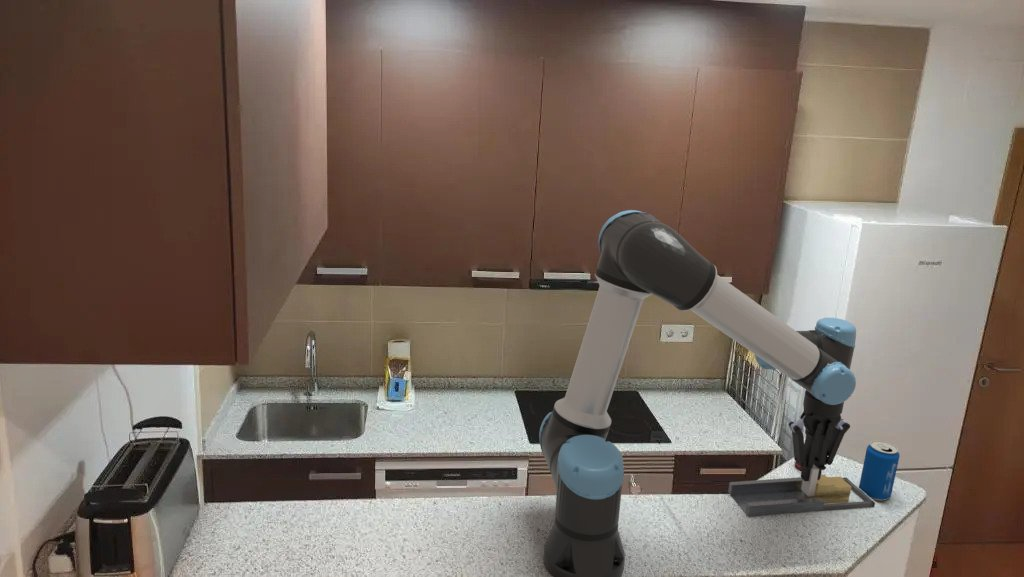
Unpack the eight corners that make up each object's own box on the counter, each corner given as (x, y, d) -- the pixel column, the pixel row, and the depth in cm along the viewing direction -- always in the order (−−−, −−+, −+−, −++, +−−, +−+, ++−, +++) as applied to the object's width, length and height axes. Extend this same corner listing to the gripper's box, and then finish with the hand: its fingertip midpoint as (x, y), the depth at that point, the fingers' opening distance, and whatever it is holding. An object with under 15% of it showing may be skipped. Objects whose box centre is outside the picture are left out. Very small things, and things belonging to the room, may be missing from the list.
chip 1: (814, 503, 151) (818, 485, 150) (804, 493, 155) (807, 475, 154) (831, 502, 152) (835, 484, 151) (820, 492, 156) (824, 474, 155)
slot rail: (747, 522, 147) (749, 506, 145) (727, 498, 155) (729, 482, 154) (821, 517, 150) (824, 500, 148) (798, 493, 158) (801, 477, 157)
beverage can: (872, 504, 155) (882, 455, 151) (851, 488, 161) (861, 440, 157) (897, 500, 156) (907, 452, 153) (875, 484, 162) (885, 437, 159)
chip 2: (830, 505, 152) (834, 487, 151) (820, 495, 156) (823, 477, 155) (847, 505, 153) (851, 486, 152) (836, 494, 157) (840, 476, 156)
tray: (821, 517, 150) (823, 506, 149) (796, 490, 159) (797, 480, 158) (872, 513, 152) (875, 502, 151) (844, 487, 161) (846, 477, 160)
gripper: (806, 401, 141) (789, 504, 148) (865, 399, 143) (845, 500, 150) (786, 386, 148) (770, 485, 155) (842, 383, 151) (824, 481, 157)
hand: (807, 492), depth 153 cm, fingers closed
